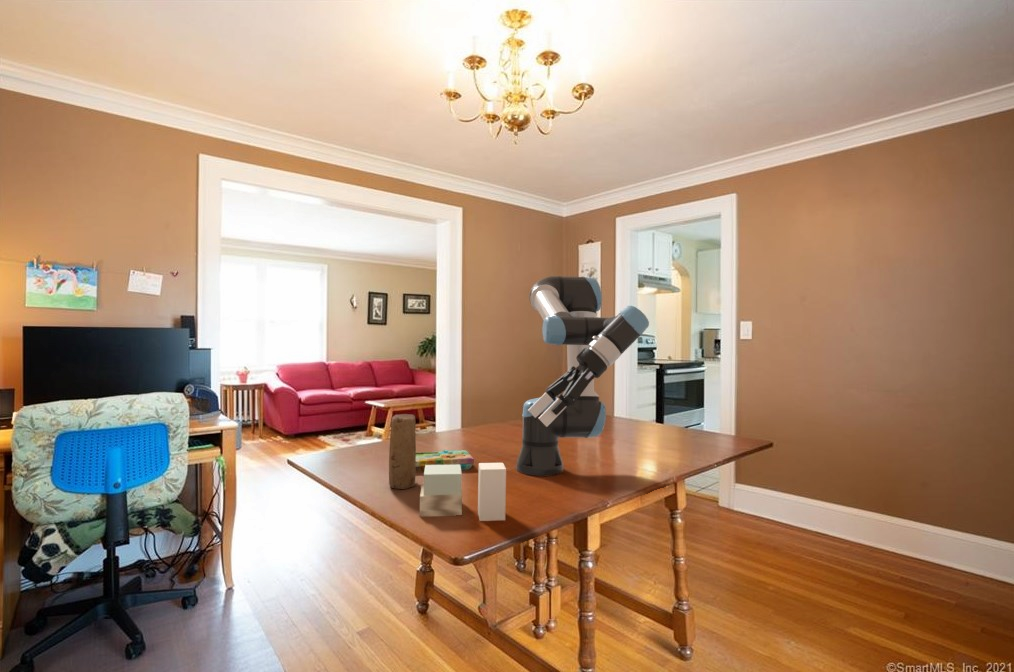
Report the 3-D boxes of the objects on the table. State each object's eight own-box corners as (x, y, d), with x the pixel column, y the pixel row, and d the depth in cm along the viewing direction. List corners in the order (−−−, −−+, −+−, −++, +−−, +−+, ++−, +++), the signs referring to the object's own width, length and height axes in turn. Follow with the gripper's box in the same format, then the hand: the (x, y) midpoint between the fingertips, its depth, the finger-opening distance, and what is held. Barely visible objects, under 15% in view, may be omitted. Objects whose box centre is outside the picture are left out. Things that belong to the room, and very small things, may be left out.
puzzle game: (474, 456, 160) (411, 459, 155) (473, 470, 160) (410, 474, 155) (467, 448, 172) (408, 450, 166) (466, 461, 172) (408, 464, 166)
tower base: (460, 502, 129) (460, 483, 129) (461, 516, 119) (462, 495, 119) (421, 503, 128) (421, 484, 128) (419, 517, 118) (419, 496, 118)
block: (415, 489, 138) (416, 418, 138) (387, 491, 137) (389, 418, 137) (415, 478, 149) (416, 412, 149) (389, 479, 148) (390, 412, 148)
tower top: (460, 483, 129) (460, 464, 129) (461, 494, 120) (461, 473, 120) (424, 484, 128) (425, 464, 128) (423, 495, 119) (423, 474, 119)
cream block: (502, 511, 123) (502, 462, 123) (505, 520, 117) (506, 469, 117) (477, 511, 122) (478, 463, 122) (479, 521, 116) (480, 469, 116)
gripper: (573, 345, 135) (518, 401, 133) (603, 346, 110) (536, 414, 108) (592, 365, 136) (537, 420, 133) (626, 370, 111) (559, 438, 109)
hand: (536, 418), depth 121 cm, fingers open, 13 cm apart
